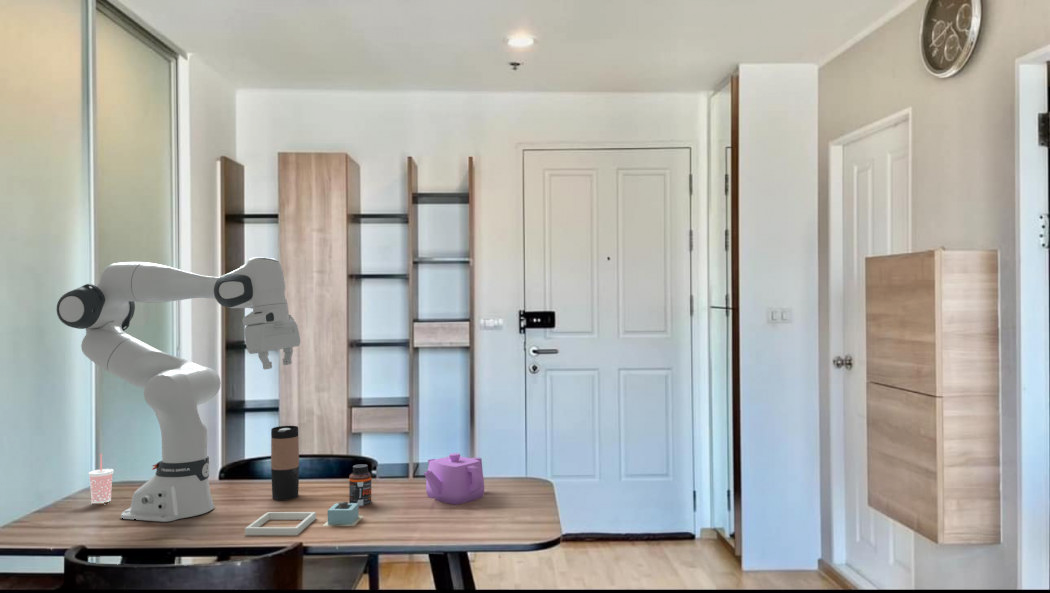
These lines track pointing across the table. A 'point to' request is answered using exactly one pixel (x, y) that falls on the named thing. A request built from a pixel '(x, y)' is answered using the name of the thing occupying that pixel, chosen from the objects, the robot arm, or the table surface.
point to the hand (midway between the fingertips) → (278, 366)
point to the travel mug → (285, 462)
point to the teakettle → (455, 479)
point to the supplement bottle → (360, 485)
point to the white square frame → (257, 530)
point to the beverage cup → (101, 484)
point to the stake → (344, 506)
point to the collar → (343, 514)
